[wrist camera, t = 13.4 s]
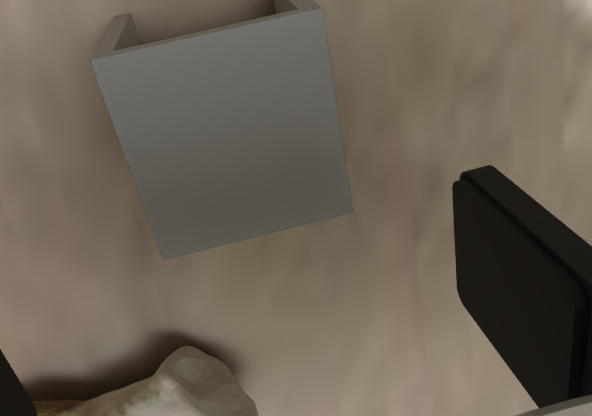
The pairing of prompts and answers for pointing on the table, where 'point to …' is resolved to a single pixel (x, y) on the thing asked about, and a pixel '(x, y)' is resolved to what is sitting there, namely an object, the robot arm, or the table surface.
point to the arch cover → (228, 126)
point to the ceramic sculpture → (167, 392)
